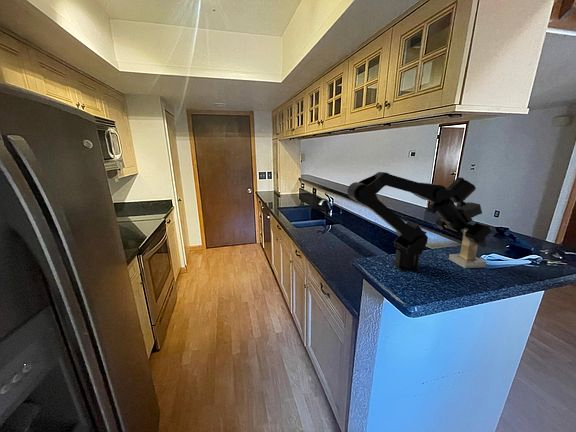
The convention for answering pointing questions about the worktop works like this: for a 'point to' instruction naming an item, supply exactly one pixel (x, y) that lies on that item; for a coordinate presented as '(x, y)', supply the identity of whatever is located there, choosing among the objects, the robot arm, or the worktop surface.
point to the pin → (468, 249)
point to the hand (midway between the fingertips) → (473, 241)
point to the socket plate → (467, 264)
